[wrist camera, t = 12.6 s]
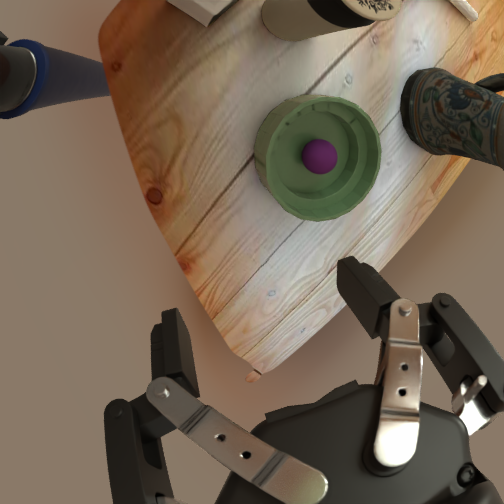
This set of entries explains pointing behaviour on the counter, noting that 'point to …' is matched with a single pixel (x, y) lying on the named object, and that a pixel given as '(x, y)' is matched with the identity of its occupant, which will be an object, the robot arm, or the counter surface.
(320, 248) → the counter surface
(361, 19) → the travel mug
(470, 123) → the beer stein
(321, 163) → the ball
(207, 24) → the medicine bottle
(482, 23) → the counter surface
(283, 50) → the counter surface
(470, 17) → the white flat disc
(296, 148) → the green bowl
